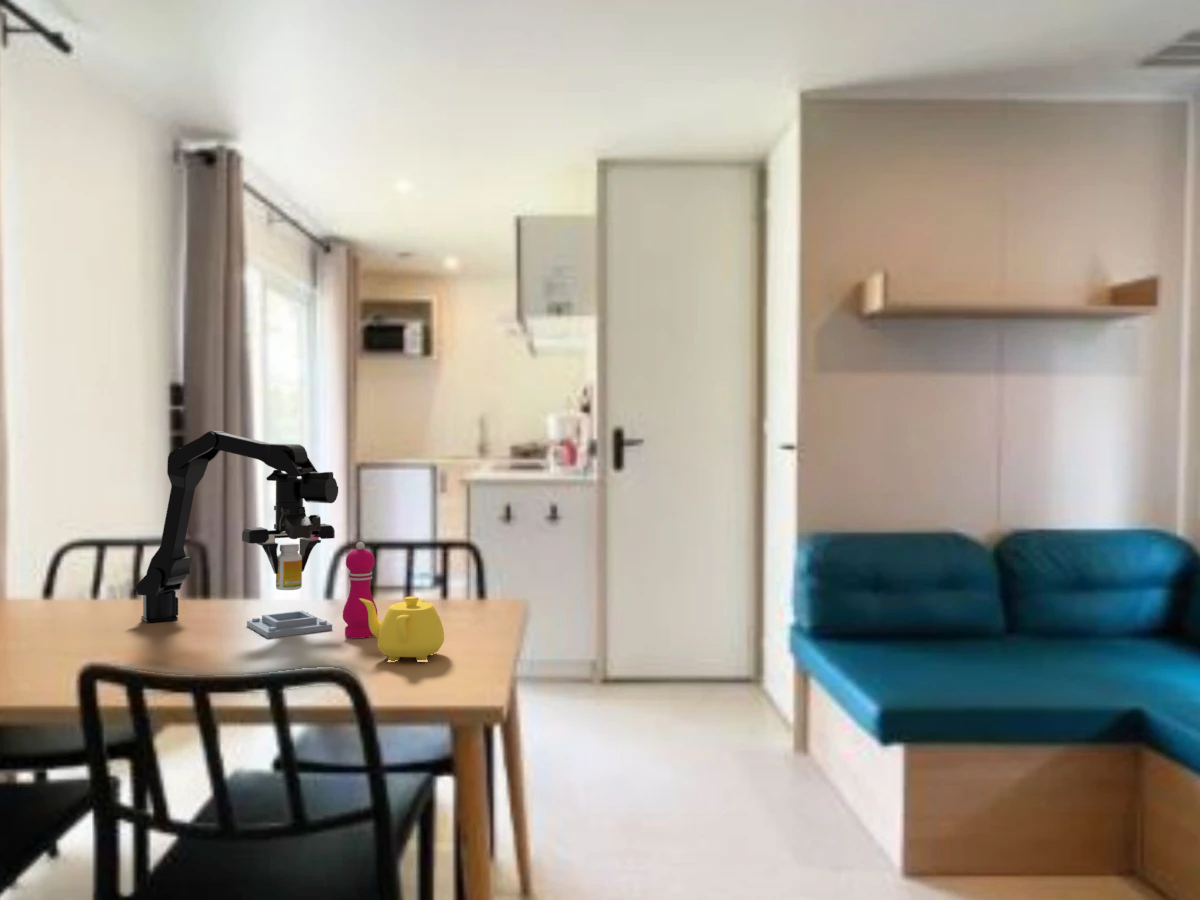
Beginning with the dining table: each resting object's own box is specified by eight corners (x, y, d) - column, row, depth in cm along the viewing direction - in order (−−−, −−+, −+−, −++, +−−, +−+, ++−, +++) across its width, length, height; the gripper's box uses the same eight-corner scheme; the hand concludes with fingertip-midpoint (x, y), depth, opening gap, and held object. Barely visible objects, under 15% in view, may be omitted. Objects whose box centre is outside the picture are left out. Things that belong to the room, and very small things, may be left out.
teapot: (418, 645, 195) (418, 587, 194) (460, 658, 184) (460, 597, 184) (358, 656, 185) (358, 595, 184) (398, 670, 175) (399, 607, 174)
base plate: (267, 638, 199) (267, 625, 198) (246, 626, 210) (246, 614, 210) (332, 629, 207) (332, 618, 207) (308, 618, 218) (308, 607, 218)
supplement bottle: (306, 587, 210) (307, 543, 209) (291, 591, 205) (292, 546, 204) (286, 585, 211) (287, 542, 211) (270, 589, 206) (271, 545, 206)
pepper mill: (384, 633, 204) (384, 541, 204) (362, 640, 198) (363, 545, 197) (357, 630, 207) (357, 539, 207) (335, 636, 201) (335, 542, 200)
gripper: (258, 506, 195) (257, 581, 196) (344, 503, 207) (344, 574, 207) (241, 502, 204) (241, 574, 205) (325, 498, 216) (324, 567, 216)
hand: (288, 572), depth 208 cm, fingers closed on supplement bottle, 5 cm apart
